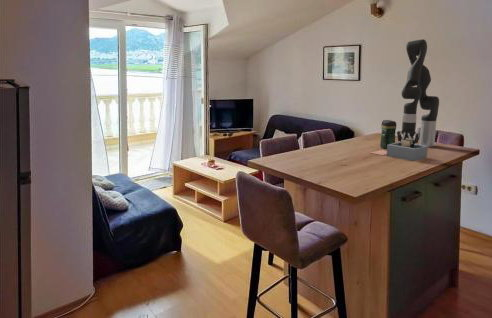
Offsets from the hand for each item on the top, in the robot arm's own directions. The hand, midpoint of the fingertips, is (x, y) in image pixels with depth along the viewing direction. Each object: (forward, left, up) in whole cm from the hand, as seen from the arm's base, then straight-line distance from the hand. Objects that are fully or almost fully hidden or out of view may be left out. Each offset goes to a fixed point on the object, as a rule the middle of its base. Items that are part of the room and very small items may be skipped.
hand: (407, 149), depth 246 cm
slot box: (0, 0, -5) cm, 5 cm away
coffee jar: (-14, -22, -5) cm, 26 cm away
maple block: (0, 0, -1) cm, 1 cm away
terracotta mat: (+2, -15, -5) cm, 16 cm away
